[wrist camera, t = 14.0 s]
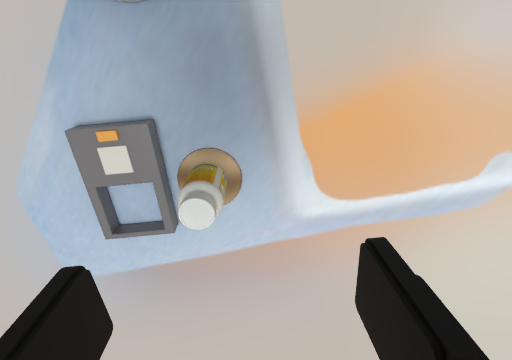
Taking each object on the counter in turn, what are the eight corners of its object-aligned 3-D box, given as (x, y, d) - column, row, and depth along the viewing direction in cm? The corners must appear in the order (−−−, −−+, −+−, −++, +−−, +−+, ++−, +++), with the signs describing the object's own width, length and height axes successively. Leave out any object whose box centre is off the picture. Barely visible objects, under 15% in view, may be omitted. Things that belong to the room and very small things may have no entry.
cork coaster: (172, 151, 37) (171, 152, 36) (238, 145, 37) (238, 146, 36) (184, 208, 40) (184, 210, 40) (244, 202, 40) (244, 204, 40)
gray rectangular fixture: (76, 126, 35) (62, 131, 32) (153, 119, 35) (146, 124, 32) (113, 229, 41) (104, 241, 38) (178, 223, 41) (173, 234, 39)
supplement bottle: (234, 179, 38) (232, 214, 29) (209, 203, 39) (199, 243, 31) (206, 153, 36) (194, 183, 27) (180, 179, 38) (161, 215, 29)
